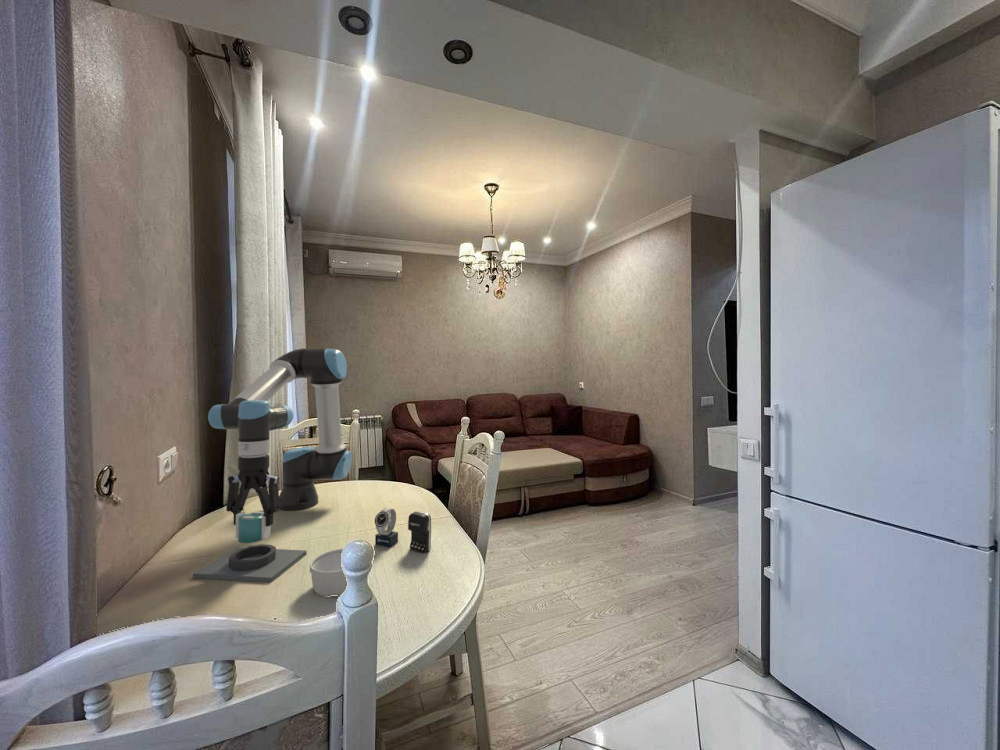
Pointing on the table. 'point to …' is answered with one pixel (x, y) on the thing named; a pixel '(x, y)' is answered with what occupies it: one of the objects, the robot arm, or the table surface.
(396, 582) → the table surface
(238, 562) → the plate with oval ring
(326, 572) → the ramekin
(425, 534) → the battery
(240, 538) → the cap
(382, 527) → the watch
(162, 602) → the table surface
